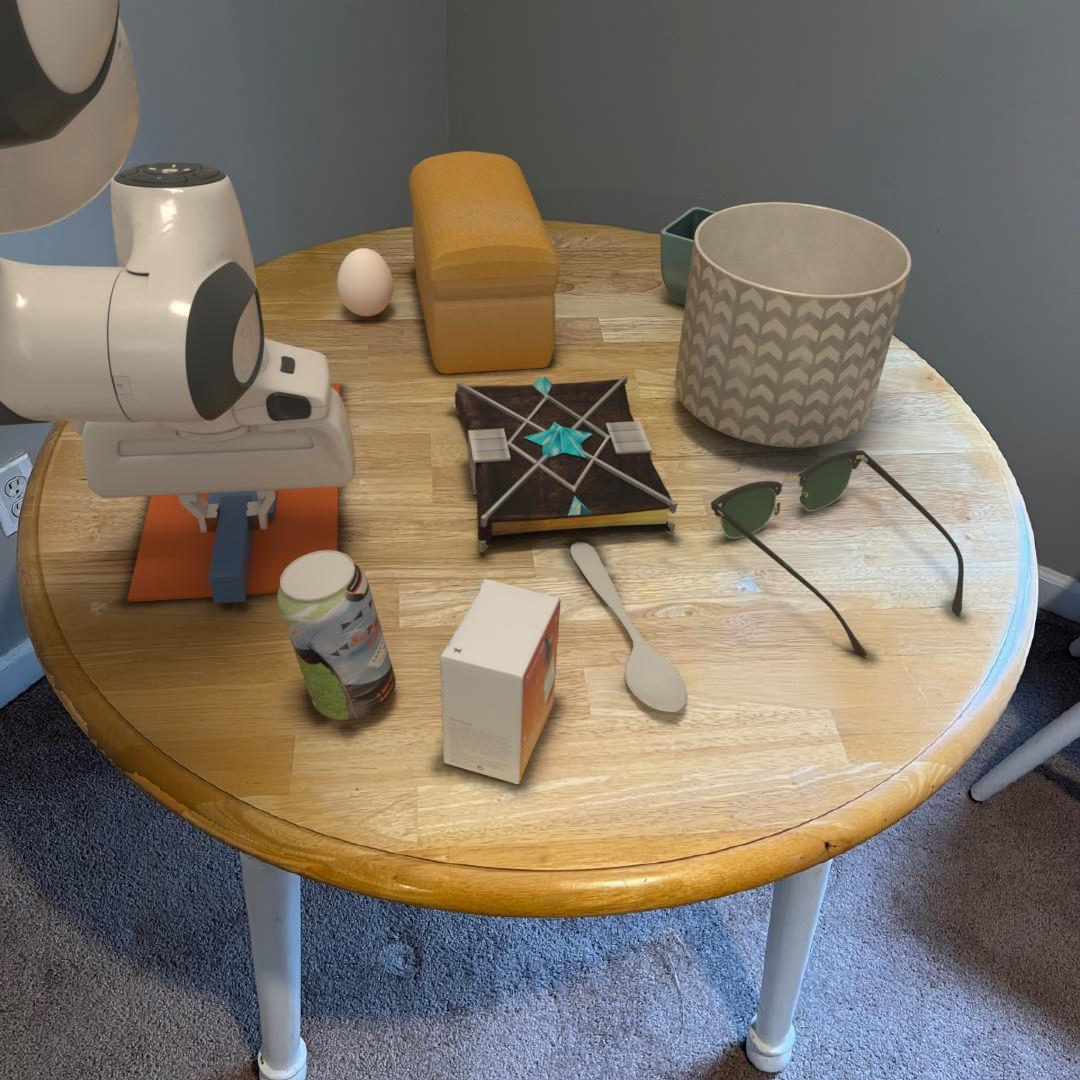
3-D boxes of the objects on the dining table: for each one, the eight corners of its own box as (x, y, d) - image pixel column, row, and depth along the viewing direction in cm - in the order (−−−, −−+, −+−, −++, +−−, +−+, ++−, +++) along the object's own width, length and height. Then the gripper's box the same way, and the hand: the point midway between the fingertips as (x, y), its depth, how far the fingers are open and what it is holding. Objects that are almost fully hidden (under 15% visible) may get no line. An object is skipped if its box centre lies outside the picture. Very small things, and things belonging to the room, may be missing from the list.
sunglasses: (832, 673, 82) (847, 625, 79) (700, 542, 93) (708, 496, 90) (988, 603, 88) (1007, 557, 85) (847, 489, 100) (859, 444, 96)
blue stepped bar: (266, 601, 85) (262, 574, 83) (192, 605, 84) (186, 578, 83) (279, 471, 98) (275, 445, 96) (215, 473, 97) (210, 447, 95)
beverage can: (391, 732, 76) (381, 607, 68) (285, 728, 76) (263, 603, 68) (401, 666, 81) (392, 542, 73) (301, 662, 81) (282, 538, 73)
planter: (758, 497, 98) (796, 316, 87) (633, 397, 110) (651, 226, 99) (905, 437, 106) (958, 265, 95) (774, 350, 118) (806, 187, 107)
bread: (556, 368, 114) (563, 232, 104) (432, 376, 112) (428, 238, 102) (518, 263, 132) (521, 139, 123) (411, 268, 130) (406, 142, 121)
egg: (335, 304, 123) (329, 240, 118) (389, 298, 124) (385, 235, 119) (345, 330, 118) (339, 265, 114) (400, 323, 120) (396, 259, 115)
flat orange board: (336, 589, 87) (336, 585, 87) (128, 602, 85) (127, 598, 85) (340, 387, 110) (340, 384, 109) (176, 393, 108) (175, 390, 108)
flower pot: (752, 297, 128) (765, 224, 122) (720, 327, 122) (732, 252, 116) (684, 277, 131) (694, 205, 125) (650, 305, 125) (658, 231, 119)
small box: (519, 788, 73) (522, 680, 66) (441, 764, 74) (437, 656, 67) (556, 702, 79) (563, 595, 72) (483, 682, 80) (484, 575, 73)
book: (455, 413, 107) (454, 368, 104) (623, 404, 109) (627, 360, 106) (478, 554, 90) (478, 505, 87) (676, 540, 93) (683, 492, 89)
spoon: (646, 730, 77) (648, 715, 76) (553, 547, 92) (554, 532, 91) (699, 718, 78) (703, 702, 77) (600, 539, 93) (601, 524, 92)
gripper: (52, 410, 77) (96, 559, 86) (347, 399, 79) (360, 544, 88) (69, 364, 82) (110, 509, 90) (347, 354, 84) (360, 496, 93)
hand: (235, 526), depth 89 cm, fingers closed on blue stepped bar, 2 cm apart
